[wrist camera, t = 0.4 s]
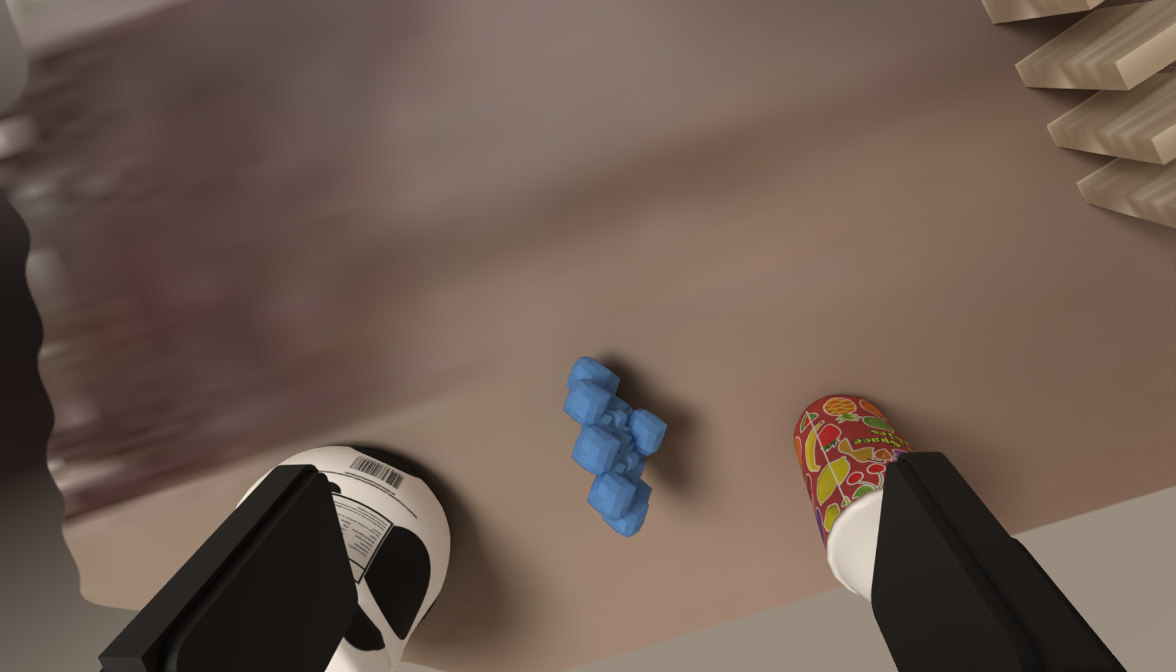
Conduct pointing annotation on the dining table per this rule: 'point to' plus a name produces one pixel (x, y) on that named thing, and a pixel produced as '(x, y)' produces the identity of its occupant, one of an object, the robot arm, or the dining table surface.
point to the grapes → (612, 444)
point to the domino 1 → (1033, 8)
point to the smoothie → (847, 480)
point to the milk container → (382, 550)
